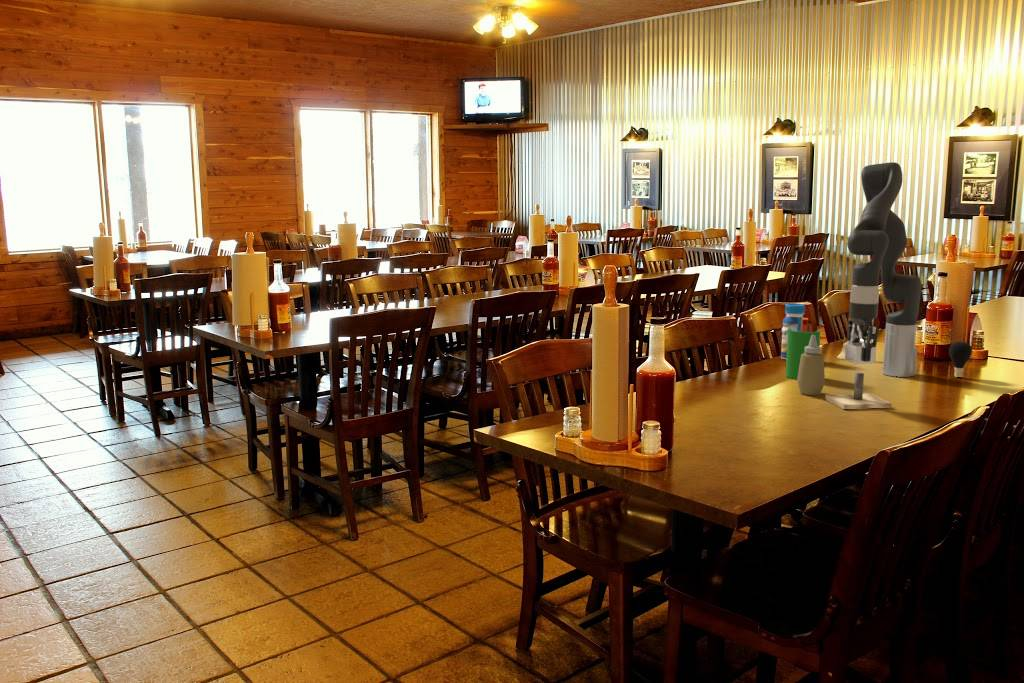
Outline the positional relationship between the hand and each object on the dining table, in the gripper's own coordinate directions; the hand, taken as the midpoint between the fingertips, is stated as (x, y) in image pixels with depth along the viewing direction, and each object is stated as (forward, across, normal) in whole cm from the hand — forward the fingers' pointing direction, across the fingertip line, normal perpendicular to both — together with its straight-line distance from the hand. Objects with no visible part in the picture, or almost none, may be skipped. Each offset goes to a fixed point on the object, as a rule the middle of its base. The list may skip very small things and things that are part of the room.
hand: (860, 358), depth 255 cm
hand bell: (+13, +64, -29) cm, 72 cm away
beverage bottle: (+13, +65, -8) cm, 67 cm away
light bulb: (+13, +29, -49) cm, 59 cm away
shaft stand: (+13, 0, 0) cm, 13 cm away
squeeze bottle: (+14, +14, +8) cm, 21 cm away
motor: (+14, +36, +1) cm, 38 cm away
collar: (+1, 0, 0) cm, 1 cm away
